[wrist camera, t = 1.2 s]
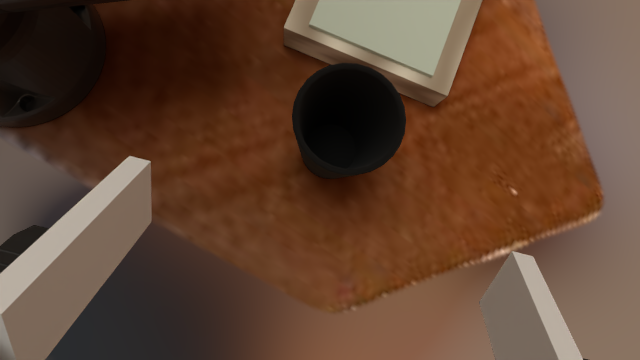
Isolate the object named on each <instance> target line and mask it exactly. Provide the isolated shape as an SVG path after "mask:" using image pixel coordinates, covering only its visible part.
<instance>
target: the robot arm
mask: <svg viewBox="0 0 640 360" xmlns="http://www.w3.org/2000/svg"><path fill="white" fill-rule="evenodd" d="M118 1H128V0H0V126H5V127H26V126H33V125H37V124H41V123H45V122H48V121H50V120H53V119H55V118H57V117H59V116H61V115H63V114H65V113H66V112H68V111H69V110H71V109H72V108H74V107H75V106H76V105H77V104H78V103H80V102H81V101H82V100H83V99H84V98H85V96H86V95H87V94H88V93H89V92H90V90H91V89H92V87H93V86H94V84H95V83H96V81H97V79H98V77H99V75H100V72H101V70H102V67H103V63H104V59H105V51H106V40H105V32H104V28H103V24H102V21H101V19H100V16H99V14H98V12H97V10H96V9H95V7H94V6H93V4H99V3H108V2H118ZM151 222H152V211H151V161H148V160H144V159H140V158H136V157H132V156H129V157H128V158H127V159H125V160H124V161H123V162H122V163H121V164H120V165H119V166H118V167H117V168H116V169H114V170H113V171H112V172H111V173H110V174H109V175H108V176H107V177H106V178H105V179H104V180H102V181H101V182H100V183H99V184H98V185H97V186H96V187H95V188H94V189H93V190H91V191H90V192H89V193H88V194H87V195H86V196H85V197H84V198H83V199H82V200H80V201H79V202H78V203H77V204H76V205H75V206H74V207H73V208H72V209H71V210H70V211H68V212H67V213H66V214H65V215H64V216H63V217H62V218H61V219H60V220H59V221H57V222H56V223H55V224H54V225H53V226H52V227H51V228H50V229H48V228H44V227H40V226H36V225H33V226H31V227H29V228H27V229H25V230H23V231H20V232H18V233H16V234H14V235H13V236H12V237H10V238H9V239H8V240H7V241H5V242H4V243H3V244H2V245H1V246H0V360H45V359H46V358H47V356H48V355H49V354H50V353H51V351H52V350H53V349H54V347H55V346H56V344H57V343H58V342H59V341H60V340H61V338H62V337H63V336H64V334H65V333H66V332H67V330H68V329H69V328H70V327H71V325H72V324H73V323H74V321H75V320H76V319H77V318H78V316H79V315H80V314H81V312H82V311H83V310H84V308H85V307H86V306H87V305H88V303H89V302H90V300H91V299H92V298H93V297H94V296H95V294H96V293H97V291H98V290H99V289H100V288H101V286H102V285H103V284H104V283H105V281H106V280H107V279H108V277H109V276H110V275H111V273H112V272H113V271H114V270H115V268H116V267H117V266H118V264H119V263H120V262H121V261H122V259H123V258H124V256H125V255H126V254H127V253H128V251H129V250H130V249H131V248H132V246H133V245H134V244H135V242H136V241H137V240H138V238H139V237H140V236H141V234H142V233H143V232H144V230H145V229H146V228H147V227H148V225H149V224H150V223H151ZM479 304H480V307H481V311H482V314H483V318H484V321H485V325H486V328H487V332H488V336H489V339H490V342H491V346H492V350H493V353H494V357H495V360H588V359H583V358H582V356H581V354H580V352H579V350H578V348H577V346H576V344H575V342H574V340H573V338H572V336H571V334H570V332H569V330H568V327H567V326H566V324H565V321H564V319H563V317H562V315H561V313H560V311H559V309H558V307H557V305H556V303H555V301H554V299H553V297H552V295H551V293H550V290H549V288H548V286H547V285H546V283H545V280H544V278H543V276H542V274H541V272H540V270H539V268H538V266H537V264H536V262H535V260H534V258H533V256H529V255H525V254H521V253H517V252H513V251H512V252H511V254H510V255H509V257H508V258H507V260H506V262H505V263H504V265H503V266H502V268H501V269H500V271H499V272H498V274H497V275H496V277H495V278H494V280H493V281H492V283H491V285H490V286H489V288H488V289H487V291H486V292H485V294H484V295H483V297H482V298H481V300H480V301H479Z"/></svg>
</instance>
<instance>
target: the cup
mask: <svg viewBox="0 0 640 360" xmlns="http://www.w3.org/2000/svg"><path fill="white" fill-rule="evenodd" d="M292 121H293V130H294V133H295V136H296V140H297V143H298V146H299V149H300V152H301V156H302V158H303V161H304V163H305V165H306V166H307V168H308V169H309V170H310V171H311V172H312V173H313V174H315V175H317V176H319V177H322V178H326V179H335V178H341V177H347V176H353V175H358V174H363V173H367V172H371V171H373V170H375V169H377V168H379V167H381V166H382V165H384V164H385V163H386V162H387V161H388V160H389V159H390V158H391V157H393V155H394V154H395V152H396V151H397V149H398V148H399V146H400V144H401V142H402V139H403V136H404V133H405V125H406V116H405V109H404V105H403V102H402V100H401V97H400V94H399V93H398V91H397V90H396V88H395V87H394V86H393V84H392V83H391V82H390V81H389V80H388V79H387V78H386V77H385V76H384V75H382V74H381V73H379V72H378V71H376V70H374V69H372V68H370V67H368V66H364V65H361V64H357V63H339V64H334V65H329V66H327V67H325V68H323V69H321V70H319V71H317V72H316V73H314V74H313V75H312V76H311V77H310V78H308V79H307V80H306V82H305V83H304V84H303V86H302V87H301V88H300V90H299V92H298V94H297V97H296V99H295V101H294V106H293V113H292Z"/></svg>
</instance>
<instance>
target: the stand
mask: <svg viewBox="0 0 640 360" xmlns="http://www.w3.org/2000/svg"><path fill="white" fill-rule="evenodd" d="M481 2H482V0H296V1H295V3H294V5H293V7H292V10H291V12H290V14H289V17H288V19H287V21H286V24H285V26H284V45H285V46H288V47H290V48H293V49H295V50H297V51H300V52H302V53H305V54H307V55H309V56H312V57H314V58H317V59H319V60H321V61H324V62H326V63H329V64H331V65H334V64H339V63H357V64H361V65H364V66H368V67H370V68H372V69H374V70H376V71H378V72H379V73H381V74H382V75H384V76H385V77H386V78H387V79H388V80H389V81H390V82H391V83H392V84H393V86H394V87H395V88H396V90H397V91H398V93H401V94H403V95H405V96H408V97H410V98H413V99H415V100H417V101H420V102H422V103H425V104H427V105H429V106H432V107H434V106H435V105H437V104H438V103H439V102H441V101H442V100H443V99H444V98H446V97H447V96H448V93H449V91H450V88H451V85H452V82H453V80H454V77H455V74H456V71H457V69H458V66H459V63H460V60H461V58H462V55H463V52H464V49H465V46H466V44H467V41H468V38H469V35H470V33H471V30H472V27H473V24H474V22H475V19H476V16H477V13H478V11H479V8H480V5H481Z"/></svg>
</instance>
